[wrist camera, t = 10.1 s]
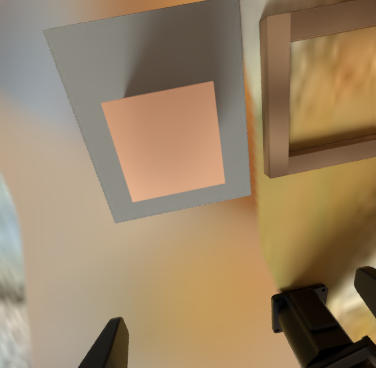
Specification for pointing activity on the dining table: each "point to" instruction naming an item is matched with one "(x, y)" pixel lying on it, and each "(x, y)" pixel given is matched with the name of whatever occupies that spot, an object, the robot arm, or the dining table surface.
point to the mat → (156, 88)
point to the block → (167, 140)
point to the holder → (280, 85)
